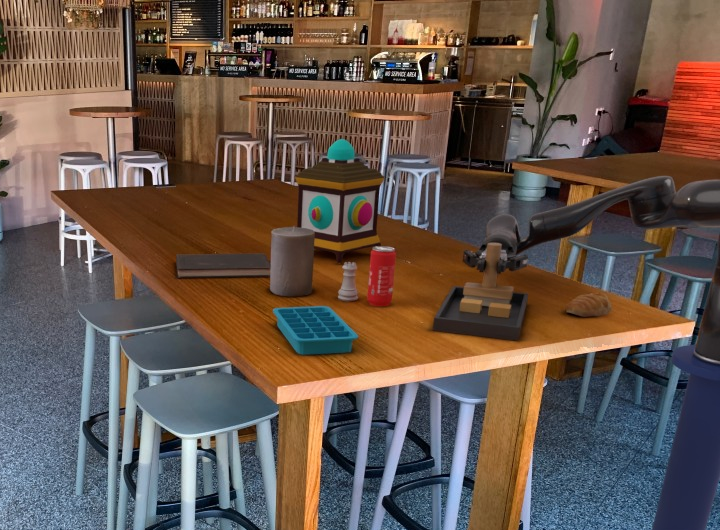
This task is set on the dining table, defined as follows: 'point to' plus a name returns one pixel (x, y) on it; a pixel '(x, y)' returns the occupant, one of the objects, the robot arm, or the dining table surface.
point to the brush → (489, 281)
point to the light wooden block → (470, 305)
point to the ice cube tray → (315, 330)
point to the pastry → (589, 305)
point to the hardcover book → (222, 265)
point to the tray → (480, 318)
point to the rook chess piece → (348, 283)
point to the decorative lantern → (340, 201)
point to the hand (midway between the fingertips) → (490, 268)
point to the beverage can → (381, 276)
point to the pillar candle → (292, 261)
